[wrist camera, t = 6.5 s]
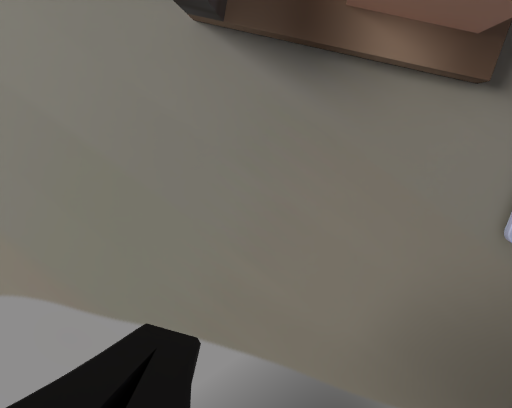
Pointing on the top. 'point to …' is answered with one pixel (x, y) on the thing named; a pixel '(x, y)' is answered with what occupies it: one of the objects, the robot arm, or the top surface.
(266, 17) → the cargo strip
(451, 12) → the terracotta block
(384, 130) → the top surface
